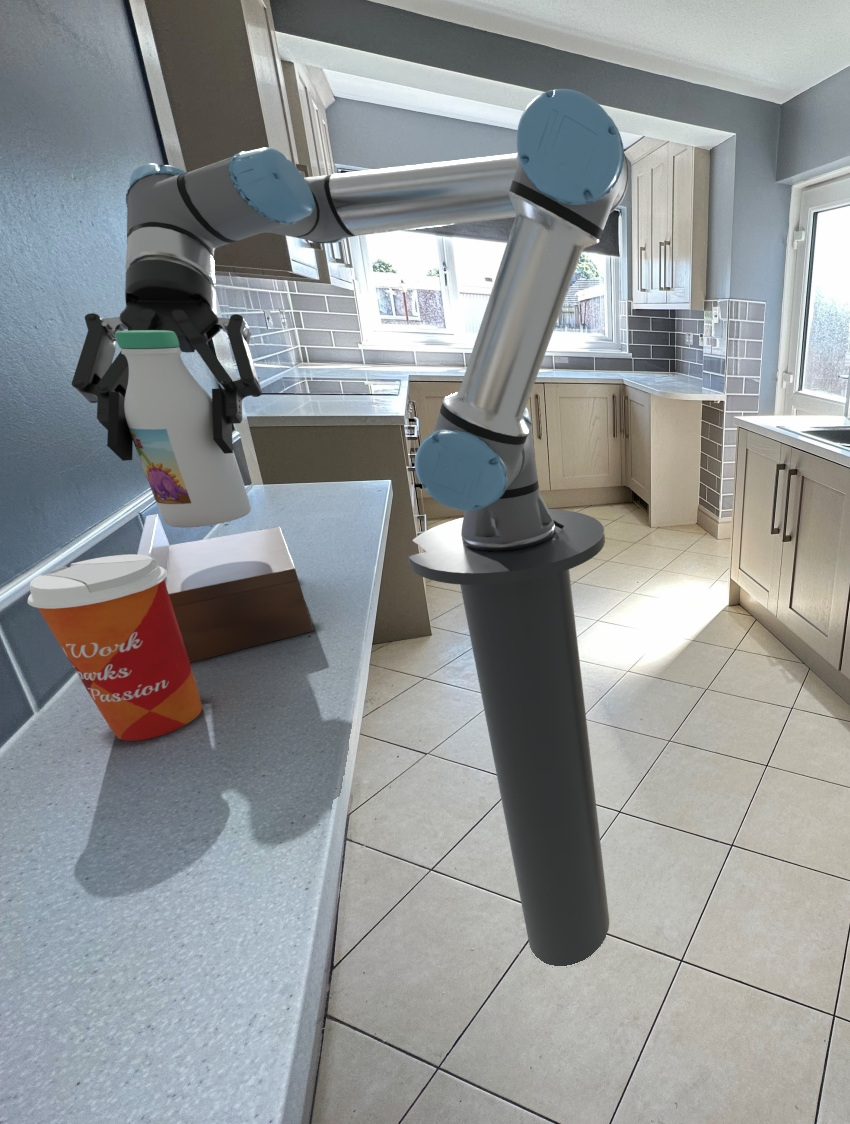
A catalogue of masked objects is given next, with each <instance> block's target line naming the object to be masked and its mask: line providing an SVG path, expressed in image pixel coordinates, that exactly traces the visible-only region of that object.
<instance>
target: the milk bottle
mask: <svg viewBox="0 0 850 1124" xmlns="http://www.w3.org/2000/svg"><path fill="white" fill-rule="evenodd" d="M115 337H116V340H117V342H116V343H117V345H118V347H119V348H120V352H121V351H122V354H124V355H125V356H126V358H127V361H128V366H129V379H128V386H127V391H126V395H125V402H124V409H125V416H126V421H127V424H128V427H129V430H130V433H131V436H132V439H133V446H134V447H135V450H136V453H137V455H138V459H139V461H140V463H141V467H142V469H143V472H144V475H145V477H146V479H147V482H148V485H149V487H150V490H151V492H152V495H153V499H154V501H155V503H156V506H157V508H158V510H159V513H160V515H161V518H162V520H163V522H164V523H165V524H166V525H167V526H168V527H171V528H179V529H180V528H183V529H185V528H186V529H187V528H199V527H209V526H214V525H219V524H224V523H229V522H232V521H235V520H239V519H242V518H244V517H246V516H248V515H249V514H250V513H251V510H252V506H251V501H250V498H249V495H248V492H247V489H246V486H245V482H244V479H243V476H242V473H241V471H240V467H239V465H238V461H237V458H236V454H235V452H234V450H233V453H227V454H224V453H223V451H222V450H221V449H220V447H219V446H218V445H217V443H216V442H215V441H214V439H213V410H212V396H211V395H210V394H209V393H208V391H206V389H205V388H204V387H203V386H202V385H201V384H200V382H198V381H197V379H195V377H194V376H193V375H192V373H191V372H190V371H189V369H188V368H187V367H186V364H185V363H184V361H183V359H182V357H181V353H183V352H182V351H181V350H180V347H179V346H180V344H179V341H178V338H177V335H176V334H175V332H173V331H166V330H134V331H128V330H124V331H118V332H116V333H115Z"/></svg>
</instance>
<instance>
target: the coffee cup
mask: <svg viewBox="0 0 850 1124" xmlns="http://www.w3.org/2000/svg"><path fill="white" fill-rule="evenodd" d="M46 574H47V575H45V574H38V575H37V576H35V577H34V578H32V580H31V581H30V582H29V591H30V594H29V595H28V598H27V604H28V605H29V606H30V607H33V608H37V609H38V611H39V612H40V614H41V615H42V618H43V619H44V621H45V622H46V624H47V626H48V628H49V629H50V631H51V632H52V634H53V636H54V638H55V639H56V641H57V642H58V644H59V646H60V648H61V649H62V651H63V652H64V654H65V656H66V658H67V659H68V661H69V662H70V665H71V666H72V668H73V669H74V671H75V673H76V674H77V676H78V677H79V679H80V681H81V683H82V685H83V686H84V687H85V689H86V691H87V693H88V694H89V696H90V697H91V700H92V701H93V703H94V704H95V706H96V707H97V709H98V711H99V712H100V714H101V715H102V717H103V719H104V720H105V722H106V723H107V725H108V727H109V729H110V730H111V731H112V733H113V734H114V735H115V736H116V737H117V739H118V740H122V741H126V742H136V741H137V742H138V741H145V740H149V739H155V738H158V737H160V736H165V735H166V734H169V733H172V732H174V731H176V730H178V729H180V728H183V727H185V726H186V725H188V724H189V723H190V722H191V723H192V722H193V720H195V719H196V718H197V717H198V716H199V715H200V714H201V712H202V710H203V703H202V700H201V696H200V693H199V689H198V685H197V682H196V678H195V675H194V672H193V668H192V665H191V663H190V662H189V658H188V655H187V652H186V649H185V645H184V642H183V639H182V636H181V632H180V629H179V626H178V623H177V619H176V616H175V613H174V610H173V607H172V603H171V600H170V597H169V594H168V590H167V587H166V584H165V581H164V578H165V577H166V576H167V571H166V570H165V569H164V568H162V567H160V566H158V564H157V563H156V561H155V560H154V559H153V558H151V557H150V556H147V555H138V554H116V555H109V556H101V557H96V558H95V557H94V558H91V559H85V560H81V561H77V562H72V563H70V566H69V567H68V566H67V565H65V566H62V567H59V568H56V569H54V570H51V571H48V572H46Z"/></svg>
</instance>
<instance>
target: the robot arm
mask: <svg viewBox="0 0 850 1124" xmlns="http://www.w3.org/2000/svg"><path fill="white" fill-rule="evenodd" d="M629 175H630V171H629V166H628V160H627V157H626V153H625V149H624V143H623V140H622V136H621V132H620V130H619V128H618V127H617V125H616V124H615V121H614V120H613V118H612V117H611V116H610V115H609V114H608V113H607V112H606V110H605V109H604V107H602V106H601V105H600V104H599V103H598V102H597V101H596V100H594V99H593V98H592V97H591V96H588V95H587V94H585V93H583V92H581V91H578V90H574V89H571V88H570V89H569V88H555V89H551V90H547V91H545V92H542V93H540V94H538V95H536V96H535V98H532V100H531V101H530V102H529V103H528V104H527V105H526V107H525V109H524V110H523V111H522V114H521V116H520V117H519V122H518V125H517V132H516V152H513V153H505V154H504V153H503V154H496V155H488V156H479V157H470V158H462V159H460V158H459V159H451V160H445V161H435V162H427V163H419V164H418V163H417V164H409V165H401V166H392V167H382V168H373V169H366V170H357V171H348V172H338V173H333V174H325V175H324V174H323V175H316V176H306V177H305V176H303V174H302V172H301V171H300V170H299V168H298V167H296V165H295V164H294V163H293V161H291V160H290V159H288V158H287V157H286V156H285V155H284V153H283V152H281V151H279V150H277V149H275V148H273V147H260V148H257V149H251V150H242V151H240V152H237V153H234V155H233V156H230V157H228V158H225V159H222V160H218V161H216V162H213V163H211V164H208V165H205V166H202V167H199V168H197V169H193V170H191V171H189V172H187V171H185V170H184V169H182V168H179V167H176V166H173V165H169V164H165V165H164V164H157V163H151V162H150V163H145V164H142V165H140V166H138V167H136V169H134V170H133V171H132V173H131V175H130V177H129V184H128V188H127V191H126V193H125V204H126V254H125V281H124V282H125V284H124V285H125V286H124V289H125V290H124V300H125V307H124V309H123V310H122V311H121V312H120V314H119V316H114V317H107V318H101V316H100V315H99V314H98V313H93V312H91V313H87V314H86V315H85V316H84V321H85V323H86V324H85V325H86V328H87V333H86V336H85V339H84V342H83V345H82V349H81V351H80V355H79V358H78V361H77V365H76V368H75V371H74V374H73V377H72V380H71V386H72V388H74V389H75V390H76V392H78V394H80V395H81V396H82V397H83V398H84V400H86V402H87V403H89V404H96V403H97V404H96V405H97V406H96V419H97V421H98V422H99V424H101V425H102V426H103V427H104V429H105V430H106V431H107V436H106V437H107V440H106V446H107V447H108V449H110V450H111V451H112V452H113V453H114V454H115V455H116V456H117V457H118V458H119V459H120V460H121V461H122V462H124V461H125V462H126V461H133V454H134V453H133V451H134V450H133V448H134V447H133V446H134V442H133V439H132V436H131V433H130V430H129V427H128V424H127V421H126V416H125V409H124V402H125V395H126V391H127V386H128V379H129V366H128V361H127V358H126V356H125V355H124V354H122V351H121V350H120V351H119V353H118V354H117V356H116V357H115V355H116V350H117V344H116V343H117V340H116V337H115V333H116V332H118V331H134V330H166V331H173V332H175V334H176V335H177V338H178V341H179V344H180V346H179V347H180V350H181V351H182V352H181V353H186V354H187V353H195V351H196V353H197V354H198V356H199V357H200V358H201V360H202V361H203V363H204V364H205V365H206V367H207V368H208V370H209V371H210V373H211V374H212V375H213V377H214V379H215V381H216V382H217V384H218V385H219V386H220V387H219V388H211V398H212V410H213V439H214V441H215V442H216V443H217V445H218V446H219V447H220V449H221V450H222V451H223V453H224V454H227V453H233V451H234V443H233V441H234V440H233V424H235V425H237V424H241V423H242V422H243V406H242V405H243V400H244V399H245V398H247V397H250V396H251V397H253V398H259V397H260V396H262V395H263V390H262V387H261V384H260V379H259V377H258V374H257V370H256V367H255V363H254V359H253V356H252V353H251V350H250V347H249V344H250V340H251V337H252V332H251V330H250V328H249V326H248V324H247V322H246V321H245V318H244V317H243V316H242V315H240V314H236V313H234V314H232V315H231V316H230V317H229V318H225V317H219V316H218V315H217V297H216V295H217V294H216V275H215V273H216V272H215V271H216V270H215V265H216V264H215V250H217V248H220V247H223V246H227V245H230V244H232V243H237V242H238V241H242V240H244V239H248V238H250V237H253V236H256V235H260V234H265V233H270V234H276V235H279V236H286V237H290V238H296V239H301V240H304V241H305V240H306V241H308V242H309V241H310V242H312V243H315V244H337V243H340V242H343V241H344V240H346V239H347V238H352V237H358V236H366V235H375V234H382V233H389V232H398V231H400V232H401V231H406V230H407V231H408V230H416V229H425V228H434V227H443V226H450V225H451V226H452V225H459V224H468V223H476V222H485V221H493V220H502V219H509V218H514V221H513V224H512V226H511V229H510V232H509V236H508V239H507V242H506V246H505V249H504V251H503V255H502V258H501V261H500V265H499V267H498V270H497V272H496V273H497V274H496V276H495V279H494V283H493V286H492V289H491V291H490V295H489V298H488V300H487V304H486V308H485V311H484V312H483V313H484V314H483V317H482V319H481V323H480V326H479V329H478V332H477V336H476V338H475V342H474V344H473V348H472V351H471V353H470V356H469V360H468V363H467V366H466V369H465V372H464V375H463V378H462V381H461V385H460V387H459V391H456V392H455V393H453V394H452V393H451V394H450V395H448V396H445V397H444V398H443V400H442V402H441V405H440V409H439V412H438V414H437V418H436V421H435V424H434V427H433V430H432V433H430V434H428V435H427V436H425V438H424V439H423V440H422V441H421V444H420V445H419V446H418V448H417V451H416V453H415V457H414V469H415V474H416V477H417V479H418V482H419V483H420V484H421V485H422V488H424V491H425V492H426V493H427V494H428V495H429V496H430V497H431V498H432V499H434V500H435V501H436V502H438V503H439V504H441V505H443V506H444V507H447V508H450V509H453V510H457V511H464V513H463V517H462V518H463V523H462V529H461V536H462V541H463V544H464V546H466V547H467V548H469V549H472V550H476V551H482V552H508V551H516V550H522V549H527V548H531V547H534V546H537V545H540V544H543V543H545V542H547V541H548V540H550V539H551V538H552V537H553V536H554V535H555V526H557V527H559V528H561V529H563V527H564V525H562V524H560V523H558V522H556V521H555V520H553V519H552V516H551V514H550V512H549V510H548V509H549V508H548V506H547V504H546V502H545V500H544V498H543V496H542V494H541V492H540V486H539V477H538V469H537V461H536V453H535V446H534V445H535V444H534V438H533V436H534V435H533V428H532V427H533V422H532V421H533V420H531V416H530V411H529V409H528V406H527V405H528V402H529V399H530V397H531V394H532V391H533V389H534V386H535V382H536V380H537V377H538V374H539V372H540V369H541V367H542V364H543V361H544V358H545V356H546V354H547V353H546V352H547V350H548V347H549V345H550V342H551V338H552V336H553V333H554V330H555V327H556V325H557V323H558V320H559V317H560V315H561V314H560V313H561V311H562V308H563V306H564V303H565V301H566V297H567V294H568V291H569V289H570V287H571V283H572V281H573V278H574V275H575V272H576V269H577V266H578V265H579V261H580V260H581V255H582V253H583V251H584V250H585V249H587V248H589V247H591V246H594V245H597V244H599V243H600V240H601V237H602V234H603V232H604V229H605V226H606V223H607V221H608V219H609V217H610V214H612V213H614V211H615V210H617V208H618V207H619V206H620V205H621V204H622V202H623V200H624V198H625V196H626V193H627V190H628V187H629V179H630V178H629V177H630V176H629ZM221 331H223V333H224V335H225V337H227V338H228V340H229V343H230V347H231V350H232V353H233V357H234V360H235V364H236V368H237V371H238V374H239V378H240V379H237V380H233V379H232V377H231V376H230V375H229V374H228V372H227V370H226V369H225V367H224V366H223V365H222V363H221V362H220V361H219V359H218V358H217V355H216V354H215V353H214V351H212V349H211V348H210V346H209V344H208V342H210V341H211V340H212V339H213V338H214V337H215V336H216V335H218V334H219V333H220V332H221ZM114 357H115V359H114Z"/></svg>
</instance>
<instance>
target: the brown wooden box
mask: <svg viewBox="0 0 850 1124" xmlns="http://www.w3.org/2000/svg"><path fill="white" fill-rule="evenodd" d="M137 554H138V555H147V556H150V557H151V558H153V559H154V560H155V561H156V563H157V564H158V566H160V567H162V568H164V569H165V570H166V571H167V576H166V577H165V578H164V581H165V584H166V587H167V590H168V594H169V597H170V600H171V603H172V607H173V610H174V613H175V616H176V619H177V623H178V626H179V629H180V632H181V636H182V639H183V642H184V645H185V649H186V652H187V655H188V658H189V662H190V664H191V663H194V662H198V661H202V660H206V659H210V658H213V657H217V656H221V655H226V654H229V653H233V652H237V651H241V650H245V649H248V648H253V647H256V646H261V645H264V644H268V643H272V642H275V641H276V642H277V641H280V640H283V639H287V638H292V637H295V636H299V635H304V634H307V633H311V632H314V630H315V629H314V626H313V623H312V620H311V616H310V613H309V609H308V607H307V603H306V600H305V597H304V593H303V590H302V586H301V584H300V580H299V576H298V572H297V570H296V567H295V564H294V561H293V559H292V556H291V553H290V550H289V548H288V545H287V542H286V540H285V537H284V534H283V532H282V529H281V526H276V527H270V528H265V529H259V530H252V531H247V532H246V531H245V532H241V533H234V534H228V535H222V536H217V537H211V538H204V539H199V540H193V541H187V542H181V543H175V544H170V543H169V540H168V537H167V535H166V533H165V530H164V527H163V524H162V522H161V518H160V517H159V514H157V513H156V514H155V513H154V514H149V515H146V517H145V521H144V525H143V529H142V533H141V536H140V542H139V544H138V549H137Z"/></svg>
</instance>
